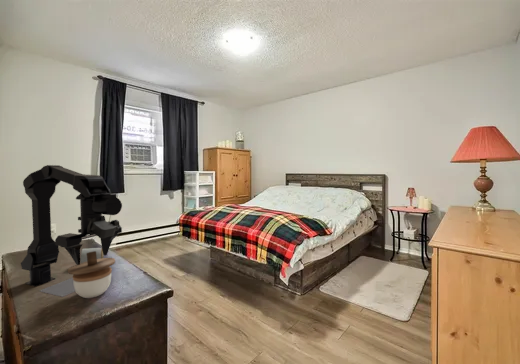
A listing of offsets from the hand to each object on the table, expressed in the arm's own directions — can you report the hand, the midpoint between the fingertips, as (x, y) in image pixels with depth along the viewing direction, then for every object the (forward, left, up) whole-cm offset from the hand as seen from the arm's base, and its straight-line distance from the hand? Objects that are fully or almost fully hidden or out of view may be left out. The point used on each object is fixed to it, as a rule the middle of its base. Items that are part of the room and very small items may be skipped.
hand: (92, 259), depth 81 cm
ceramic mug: (-26, +19, -12) cm, 35 cm away
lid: (0, 0, -2) cm, 2 cm away
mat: (-13, +1, -12) cm, 18 cm away
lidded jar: (0, 0, -12) cm, 12 cm away
